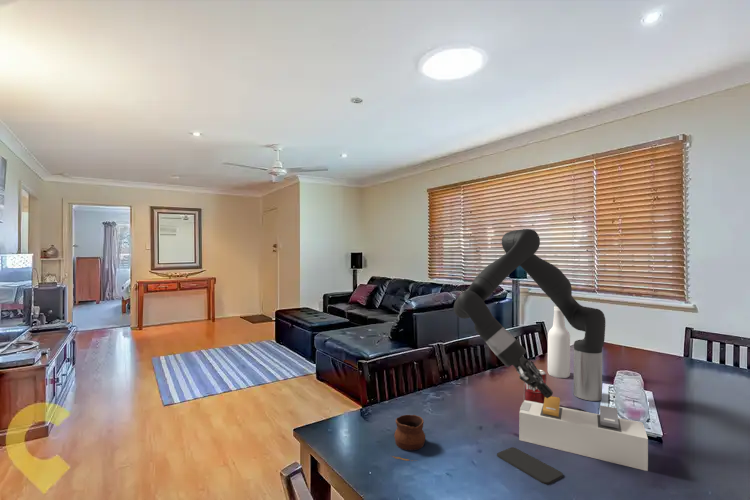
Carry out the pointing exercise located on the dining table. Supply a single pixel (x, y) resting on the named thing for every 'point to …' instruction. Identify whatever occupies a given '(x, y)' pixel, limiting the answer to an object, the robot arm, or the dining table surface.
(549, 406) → the amber rocker
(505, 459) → the phone
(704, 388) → the dining table surface
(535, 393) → the soda can
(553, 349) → the alcohol
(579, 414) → the switch console
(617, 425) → the grey rocker
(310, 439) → the dining table surface
